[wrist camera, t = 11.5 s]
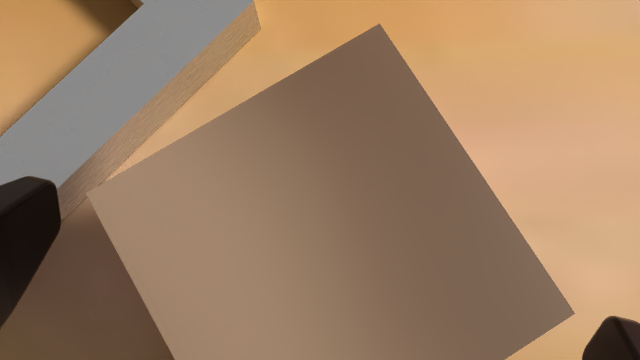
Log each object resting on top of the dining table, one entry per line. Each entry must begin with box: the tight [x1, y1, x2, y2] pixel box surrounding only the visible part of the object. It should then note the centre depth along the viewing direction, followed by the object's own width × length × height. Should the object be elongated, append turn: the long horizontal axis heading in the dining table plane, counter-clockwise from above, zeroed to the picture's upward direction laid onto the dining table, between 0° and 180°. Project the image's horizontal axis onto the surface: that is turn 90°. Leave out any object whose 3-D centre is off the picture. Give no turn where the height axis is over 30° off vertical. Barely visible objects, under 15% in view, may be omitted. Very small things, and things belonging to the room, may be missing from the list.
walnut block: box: [86, 24, 575, 360], centre depth 12 cm, size 4×4×11 cm
